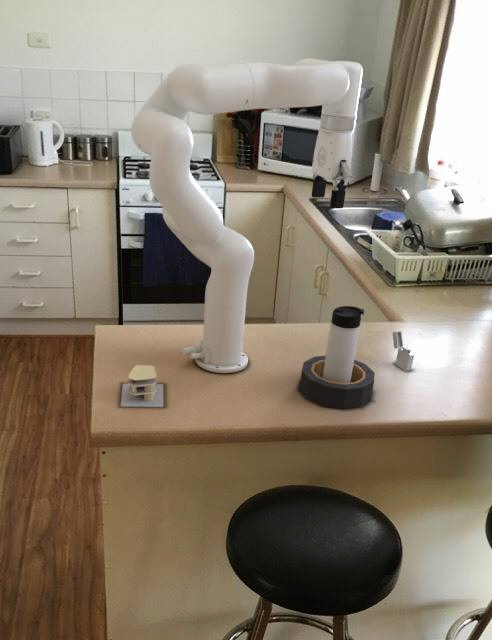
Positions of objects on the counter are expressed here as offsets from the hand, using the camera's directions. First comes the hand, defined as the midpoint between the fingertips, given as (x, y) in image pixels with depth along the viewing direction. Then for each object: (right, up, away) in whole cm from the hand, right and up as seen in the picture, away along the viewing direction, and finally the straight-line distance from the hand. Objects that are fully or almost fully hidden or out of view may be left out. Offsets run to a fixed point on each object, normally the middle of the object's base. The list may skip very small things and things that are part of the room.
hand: (326, 202), depth 161 cm
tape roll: (+1, -44, -3) cm, 44 cm away
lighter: (+20, -37, +11) cm, 43 cm away
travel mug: (+2, -44, -3) cm, 44 cm away
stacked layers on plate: (-41, -45, -10) cm, 62 cm away
